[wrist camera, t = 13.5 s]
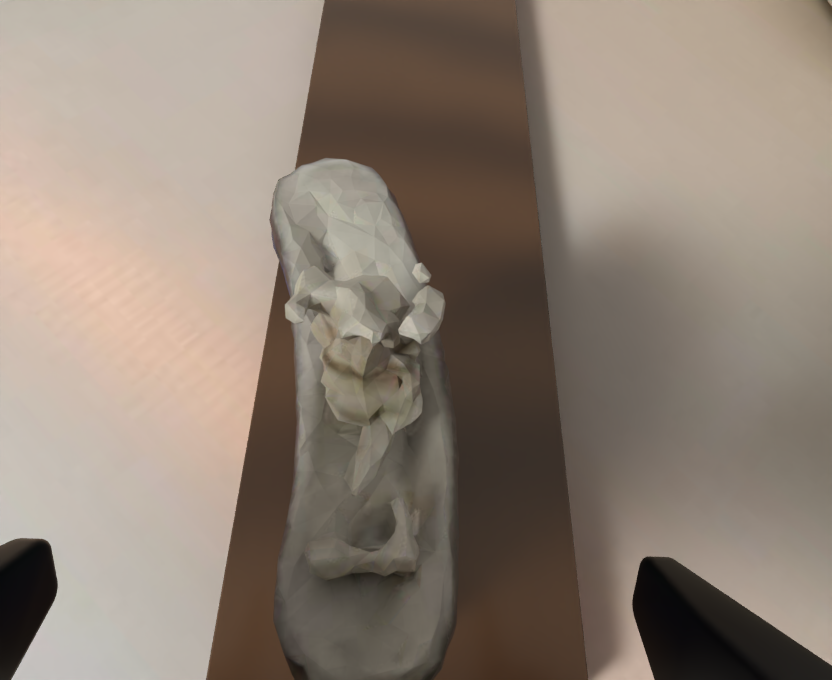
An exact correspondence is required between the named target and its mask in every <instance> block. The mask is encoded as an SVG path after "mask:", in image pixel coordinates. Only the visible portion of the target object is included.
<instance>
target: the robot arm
mask: <svg viewBox="0 0 832 680" xmlns="http://www.w3.org/2000/svg"><path fill="white" fill-rule="evenodd" d="M57 587H58V583H57V577H56V571H55V566H54V560H53V555H52V550H51V546H50V544H49V543H48V541H46V540H44V539H29V538H20V539H14V540H12V541H10V542H8V543H6V544H3V545H1V546H0V680H11V679H12V677H13V675H14V674H15V672H16V670H17V668H18V666H19V664H20V663H21V661H22V659H23V657H24V655H25V653H26V652H27V650H28V648H29V646H30V644H31V642H32V641H33V639H34V637H35V635H36V633H37V631H38V630H39V628H40V626H41V624H42V622H43V620H44V619H45V617H46V615H47V613H48V611H49V609H50V608H51V606H52V604H53V602H54V600H55V597H56V594H57ZM632 605H633V613H634V617H635V620H636V623H637V626H638V629H639V633H640V636H641V639H642V642H643V645H644V648H645V651H646V654H647V657H648V660H649V663H650V667H651V670H652V673H653V676H654V679H655V680H832V666H831V665H830V664H828V663H827V662H825V661H824V660H822V659H821V658H820V657H818V656H817V655H815V654H814V653H812V652H811V651H809V650H808V649H806V648H805V647H803V646H802V645H800V644H799V643H797V642H796V641H794V640H793V639H791V638H790V637H788V636H787V635H785V634H784V633H782V632H781V631H779V630H778V629H776V628H775V627H773V626H772V625H771V624H769V623H768V622H766V621H765V620H763V619H762V618H760V617H759V616H757V615H756V614H754V613H753V612H751V611H750V610H748V609H747V608H745V607H744V606H742V605H741V604H739V603H738V602H736V601H735V600H733V599H732V598H730V597H729V596H727V595H726V594H725V593H723V592H722V591H720V590H719V589H717V588H716V587H714V586H713V585H711V584H710V583H708V582H707V581H705V580H704V579H702V578H701V577H699V576H698V575H696V574H695V573H693V572H692V571H690V570H689V569H687V568H686V567H684V566H683V565H681V564H680V563H679V562H677V561H676V560H674V559H672V558H669V557H645V558H644V559H643V560H642V561H641V563H640V567H639V571H638V576H637V581H636V585H635V590H634V595H633V604H632Z"/></svg>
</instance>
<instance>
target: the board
mask: <svg viewBox="0 0 832 680" xmlns="http://www.w3.org/2000/svg"><path fill="white" fill-rule="evenodd" d="M324 158H333V159H345V160H349V161H352V162H355V163H358V164H362V165H365V166H368V167H371V168H373V169H374V170H375V171H376V172H377V173H378V174H379V175H380V177H381V178H382V179H383V181H384V182H385V184H386V185H387V187H388V188H389V190H390V191H391V192H392V193H393V194H394V195H395V197H396V200H397V203H398V206H399V209H400V211H401V212H402V213H403V216H404V218H405V221H406V223H407V226H408V228H409V231H410V233H411V236H412V239H413V242H414V246H415V249H416V252H417V254H418V257H419V259H420V262H421V263H423V265H424V266H425V267H426V269H427V270H428V271H429V273H430V274H431V278H430V281H429V282H427V285H429V286H431V287H433V288H434V289H436V290H438V291H440V292H441V293H443V296H444V300H445V303H446V304H445V309H444V315H443V320H442V322H441V325H440V327H439V330H440V336H441V341H442V344H443V347H444V351H445V363H446V365H447V367H448V370H449V377H450V386H451V393H452V400H453V407H454V411H455V416H456V436H457V445H458V452H459V468H458V515H459V551H458V567H459V585H458V598H457V624H456V628H455V632H454V635H453V638H452V640H451V642H450V644H449V646H448V649H447V652H446V656H445V659H444V663H443V667H442V669H441V671H440V672H439V673H438V674H437V675H436V677H435V678H434V679H433V680H588V674H587V664H586V655H585V646H584V636H583V627H582V618H581V609H580V599H579V590H578V581H577V571H576V562H575V553H574V544H573V534H572V525H571V516H570V506H569V497H568V488H567V479H566V469H565V460H564V451H563V441H562V432H561V423H560V414H559V404H558V395H557V386H556V376H555V367H554V358H553V349H552V339H551V330H550V321H549V311H548V302H547V293H546V284H545V274H544V265H543V256H542V246H541V237H540V228H539V219H538V209H537V200H536V191H535V181H534V172H533V163H532V154H531V144H530V135H529V126H528V116H527V107H526V98H525V89H524V79H523V70H522V61H521V51H520V42H519V33H518V24H517V14H516V5H515V0H325V1H324V7H323V13H322V18H321V24H320V30H319V35H318V41H317V47H316V53H315V58H314V64H313V70H312V76H311V81H310V87H309V93H308V99H307V104H306V110H305V116H304V121H303V127H302V133H301V139H300V144H299V150H298V156H297V162H296V167H295V170H296V169H297V168H299V167H300V166H301V165H305V164H310V163H313V162H316V161H319V160H321V159H324ZM289 300H290V295H289V291H288V287H287V284H286V280H285V277H284V273H283V270H282V267H281V264H280V261H279V265H278V270H277V276H276V282H275V288H274V293H273V299H272V305H271V311H270V316H269V322H268V328H267V334H266V339H265V345H264V351H263V356H262V362H261V368H260V374H259V379H258V385H257V391H256V397H255V402H254V408H253V414H252V420H251V425H250V431H249V437H248V442H247V448H246V454H245V460H244V465H243V471H242V477H241V483H240V488H239V494H238V500H237V506H236V511H235V517H234V523H233V528H232V534H231V540H230V546H229V551H228V557H227V563H226V569H225V574H224V580H223V586H222V592H221V597H220V603H219V609H218V614H217V620H216V626H215V632H214V637H213V643H212V649H211V655H210V660H209V666H208V672H207V678H206V680H295V679H294V677H293V676H292V674H291V671H290V668H289V666H288V663H287V661H286V658H285V656H284V653H283V650H282V647H281V644H280V641H279V637H278V634H277V631H276V628H275V625H274V622H273V614H274V595H275V586H276V578H277V563H278V556H279V551H280V547H281V543H282V538H283V534H284V530H285V525H286V520H287V515H288V509H289V504H290V498H291V492H292V484H293V473H294V456H295V441H296V426H297V417H296V385H295V367H294V337H293V333H292V329H291V323H292V322H291V321H290V320H288V319H286V315H285V304H286V303H287V302H288V301H289Z"/></svg>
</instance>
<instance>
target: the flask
mask: <svg viewBox="0 0 832 680" xmlns="http://www.w3.org/2000/svg"><path fill="white" fill-rule="evenodd" d="M270 224H271V228H272V240H273V247H274V249H275V251H276V254H277V256H278V258H279V261H280V264H281V267H282V270H283V273H284V277H285V280H286V284H287V287H288V291H289V295H290V300H289V301H288V302H287V303H286V304H285V315H286V319H288V320H290V321H291V322H292V323H291V329H292V333H293V337H294V367H295V385H296V417H297V426H296V441H295V456H294V473H293V484H292V492H291V498H290V504H289V509H288V515H287V520H286V525H285V530H284V534H283V538H282V543H281V547H280V551H279V556H278V563H277V578H276V586H275V595H274V614H273V622H274V625H275V628H276V631H277V634H278V637H279V641H280V644H281V647H282V650H283V653H284V656H285V658H286V661H287V663H288V666H289V668H290V671H291V674H292V676H293V677H294V679H295V680H433V679H434V678H435V677H436V675H437V674H438V673H439V672H440V671H441V669H442V667H443V663H444V659H445V656H446V652H447V649H448V646H449V644H450V642H451V640H452V638H453V635H454V632H455V628H456V624H457V598H458V585H459V567H458V551H459V515H458V468H459V452H458V445H457V436H456V416H455V411H454V407H453V400H452V393H451V386H450V377H449V370H448V367H447V365H446V363H445V351H444V347H443V344H442V341H441V336H440V330H439V327H440V325H441V322H442V320H443V315H444V309H445V304H446V303H445V300H444V296H443V293H441V292H440V291H438V290H436V289H434V288H433V287H431V286H429V285H427V282H429V281H430V278H431V274H430V273H429V271H428V270H427V269H426V267H425V266H424V265H423V263H421V262H420V259H419V257H418V254H417V252H416V249H415V246H414V242H413V239H412V236H411V233H410V231H409V228H408V226H407V223H406V221H405V218H404V216H403V213H402V212H401V211H400V209H399V206H398V203H397V200H396V197H395V195H394V194H393V193H392V192H391V191H390V190H389V188H388V187H387V185H386V184H385V182H384V181H383V179H382V178H381V177H380V175H379V174H378V173H377V172H376V171H375V170H374V169H373V168H371V167H368V166H365V165H362V164H358V163H355V162H352V161H349V160H345V159H333V158H324V159H321V160H319V161H316V162H313V163H310V164H305V165H301V166H300V167H299V168H297V169H296V170H295V171H293V172H292V173H291V174H289V175H287V176H285V177H283V178H281V179H279V180H278V182H277V185H276V188H275V191H274V194H273V201H272V210H271V215H270Z"/></svg>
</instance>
